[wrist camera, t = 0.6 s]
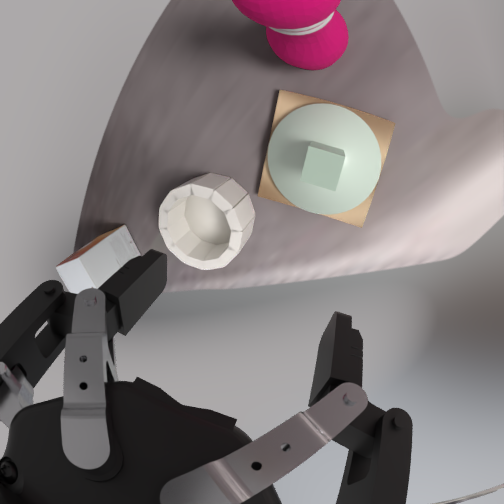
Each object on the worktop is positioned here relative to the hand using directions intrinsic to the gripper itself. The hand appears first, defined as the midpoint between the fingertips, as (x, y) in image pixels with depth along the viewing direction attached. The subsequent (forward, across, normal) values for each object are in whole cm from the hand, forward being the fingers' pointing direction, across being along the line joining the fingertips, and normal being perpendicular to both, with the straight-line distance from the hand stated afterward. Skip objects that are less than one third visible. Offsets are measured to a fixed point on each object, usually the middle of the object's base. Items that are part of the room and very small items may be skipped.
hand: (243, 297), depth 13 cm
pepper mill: (+21, +2, -15) cm, 26 cm away
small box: (+21, +25, +17) cm, 37 cm away
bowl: (+21, +9, +7) cm, 24 cm away
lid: (+20, -2, -3) cm, 20 cm away
